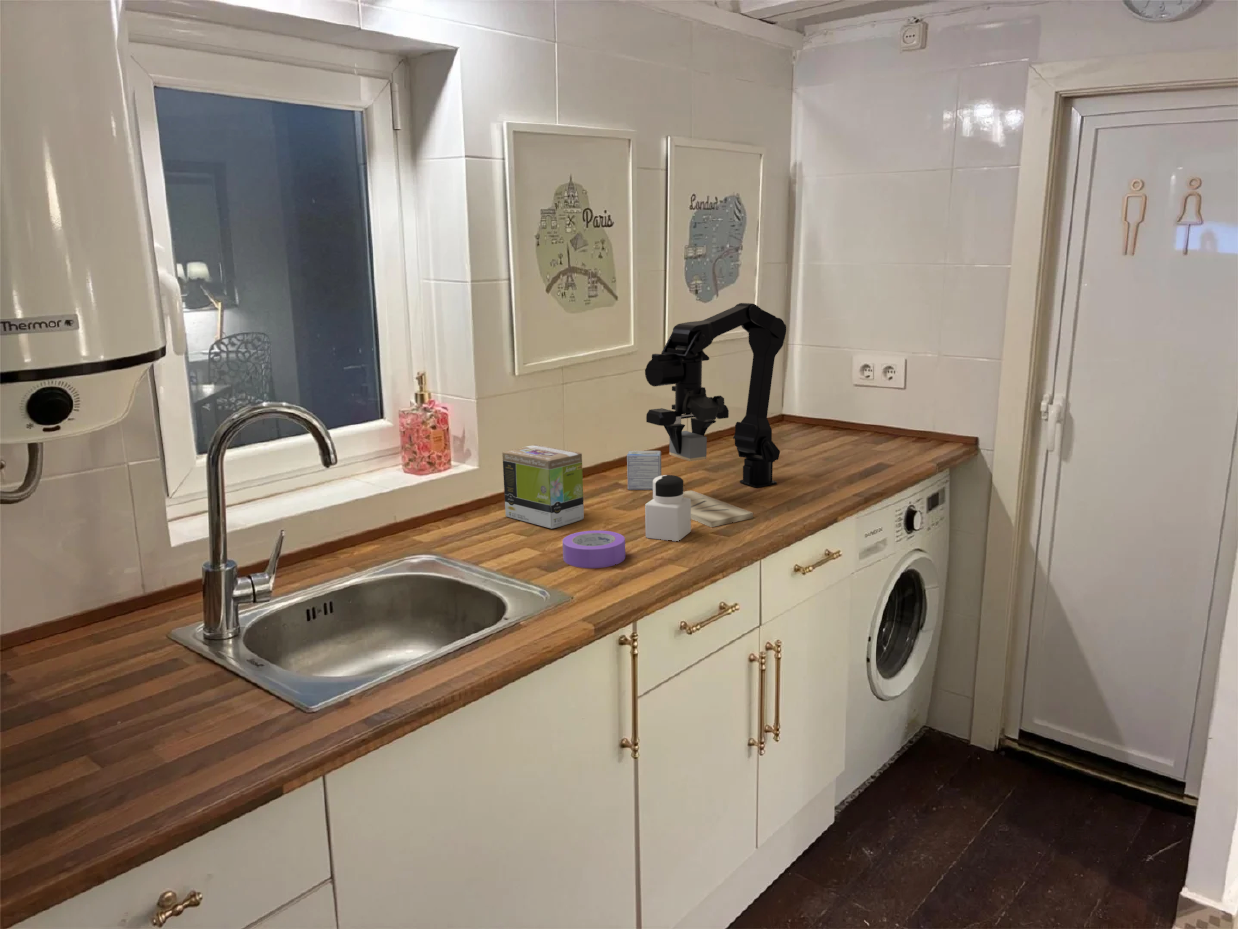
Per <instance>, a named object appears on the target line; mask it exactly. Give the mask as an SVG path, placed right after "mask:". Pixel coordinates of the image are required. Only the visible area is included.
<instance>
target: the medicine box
mask: <svg viewBox="0 0 1238 929" xmlns="http://www.w3.org/2000/svg"><path fill="white" fill-rule="evenodd" d="M626 462H627V464H626V469H627V470H626V472H627V490H628V491H630V490H631V491H632V490H635V491H637V490H638V491H639V490H642V491H643V490H649V491H650V490H651V491H653V480H654V478H656V477H658V476H662V451H661V450H629V451H628V452H627V455H626Z"/></svg>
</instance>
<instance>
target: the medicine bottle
mask: <svg viewBox="0 0 1238 929" xmlns="http://www.w3.org/2000/svg"><path fill="white" fill-rule="evenodd" d="M683 492H684V480H683V478H682V477H680V476H677V475H673V474H664V475H662V474H661V476H658V477H656V478H654V480H653V490H652V498H654V499H652V498H651V500H649V501H648V502H647V503H645V504H644V506H645V508H644V509H645V510H644V511H645V512H644V513H645V514H644V516H645V518H644V519H645V520H644V521H645V523H644V524H645V538H647V539H652V540H660V539H661V540H662V541H668V540H672V541H671V542H676V541H678V542H680V541H681V540H682V539H683V538H685V537H686V536H687V535H688V534H690V532H692V519H691V499H690V498H683ZM661 540H660V541H661ZM679 540H680V541H679Z"/></svg>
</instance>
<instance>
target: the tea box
mask: <svg viewBox="0 0 1238 929" xmlns="http://www.w3.org/2000/svg"><path fill="white" fill-rule="evenodd" d="M501 454H502V468H503V469H502V473H503V474H502V475H503V489H504V490H503V492H504V511H505V517H508V518H511V519H514V520H518V521H521V522H526V523H530V524H533V525H535V526H536V525H537V526H541V527H545V528H548V529H556V528H560V527H563V526H566V525H569V524H573V523H576V522H580V521H582V520H584V517H585V516H584V515H585V514H584V513H585V512H584V506H585V505H584V480H583V453H582V452H578V451H573V450H567V449H561V448H556V447H550V446H544V445H538V444H533V445H528V446H523V447H519V448H514V449H510V450H506V451H505V450H504V451H502V453H501Z"/></svg>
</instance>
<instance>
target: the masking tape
mask: <svg viewBox="0 0 1238 929" xmlns="http://www.w3.org/2000/svg"><path fill="white" fill-rule="evenodd" d="M562 559H563V562H564V563H565V564H567V565H569V566H572V567H576V568H582V569H600V568H608V567H612V566H616V565H618V564H619V565H620V563H622V562H624V560H625V559H626V538H625V536H624V535H623V534H621V533H618V532H615V531H610V530H585V531H579V532H578V531H577V532H575V533H571V534H569V535H566V536H565V537H564V538H562ZM615 564H616V565H615Z"/></svg>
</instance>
